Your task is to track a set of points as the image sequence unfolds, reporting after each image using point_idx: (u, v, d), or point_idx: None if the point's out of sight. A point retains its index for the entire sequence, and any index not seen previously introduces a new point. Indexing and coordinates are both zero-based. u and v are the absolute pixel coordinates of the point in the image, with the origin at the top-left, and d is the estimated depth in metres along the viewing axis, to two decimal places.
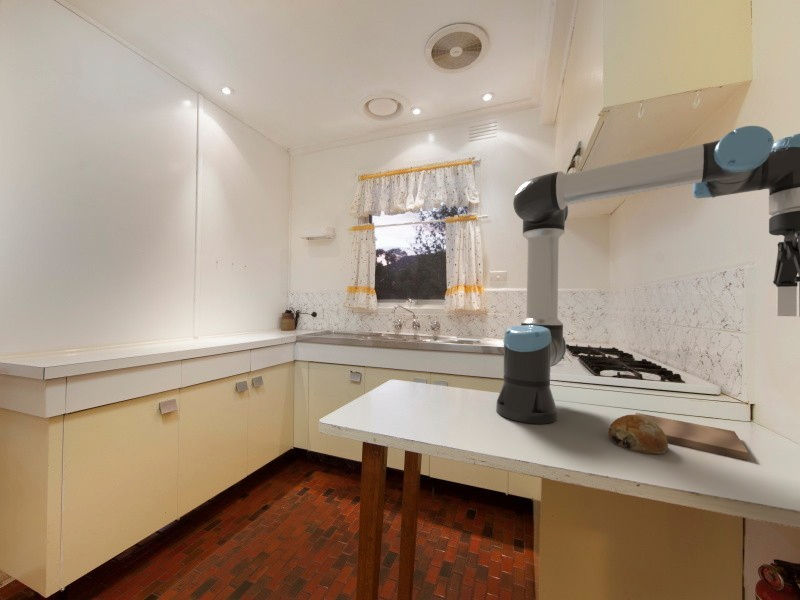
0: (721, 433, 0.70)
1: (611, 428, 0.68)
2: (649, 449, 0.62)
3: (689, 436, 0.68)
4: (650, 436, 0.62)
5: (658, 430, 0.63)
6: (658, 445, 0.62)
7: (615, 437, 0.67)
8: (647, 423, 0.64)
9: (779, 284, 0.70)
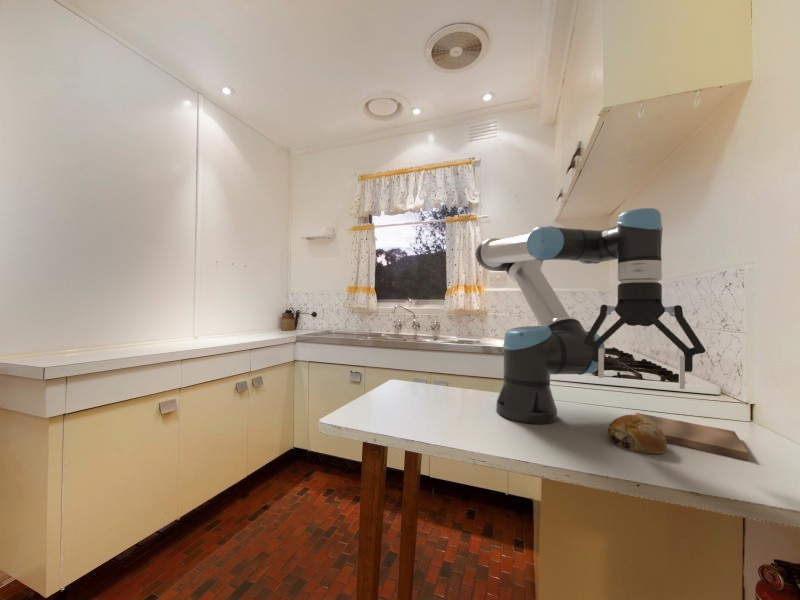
0: (721, 433, 0.70)
1: (610, 428, 0.68)
2: (648, 449, 0.62)
3: (689, 436, 0.68)
4: (649, 436, 0.62)
5: (657, 430, 0.63)
6: (657, 445, 0.62)
7: (614, 437, 0.67)
8: (646, 423, 0.64)
9: None
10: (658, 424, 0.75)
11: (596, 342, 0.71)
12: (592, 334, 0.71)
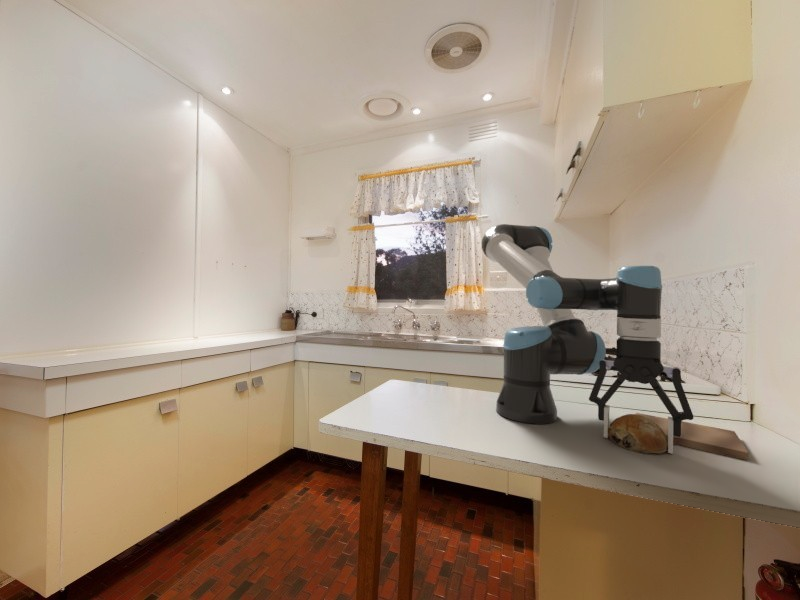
0: (721, 433, 0.70)
1: (611, 428, 0.68)
2: (649, 449, 0.62)
3: (689, 436, 0.68)
4: (650, 435, 0.62)
5: (658, 429, 0.63)
6: (658, 445, 0.62)
7: (615, 437, 0.66)
8: (646, 422, 0.64)
9: None
10: (658, 424, 0.75)
11: (601, 400, 0.70)
12: (596, 391, 0.71)
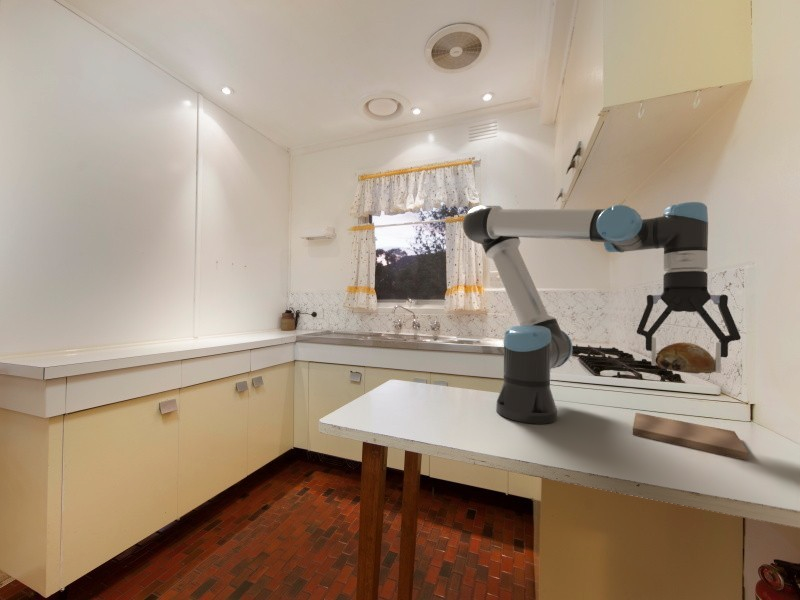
0: (721, 433, 0.70)
1: (659, 355, 0.73)
2: (698, 368, 0.67)
3: (689, 436, 0.68)
4: (699, 356, 0.67)
5: (706, 352, 0.68)
6: (707, 364, 0.67)
7: (664, 362, 0.72)
8: (694, 346, 0.69)
9: None
10: (658, 424, 0.75)
11: (649, 332, 0.75)
12: (644, 324, 0.76)
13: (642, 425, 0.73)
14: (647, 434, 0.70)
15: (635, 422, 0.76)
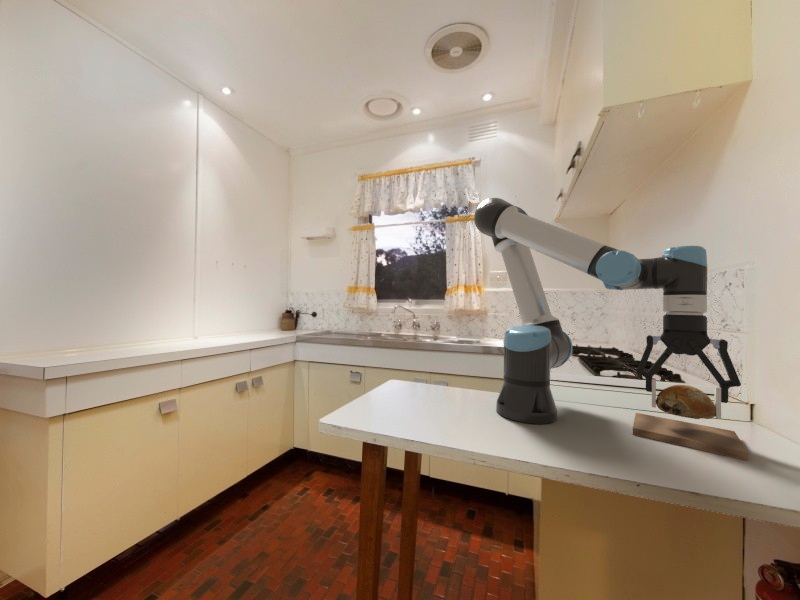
0: (721, 433, 0.70)
1: (659, 397, 0.73)
2: (699, 414, 0.67)
3: (689, 436, 0.68)
4: (699, 402, 0.67)
5: (706, 396, 0.68)
6: (707, 410, 0.67)
7: (664, 405, 0.71)
8: (695, 391, 0.69)
9: None
10: (658, 424, 0.75)
11: (649, 373, 0.75)
12: (643, 364, 0.76)
13: (642, 425, 0.73)
14: (647, 434, 0.70)
15: (635, 422, 0.76)
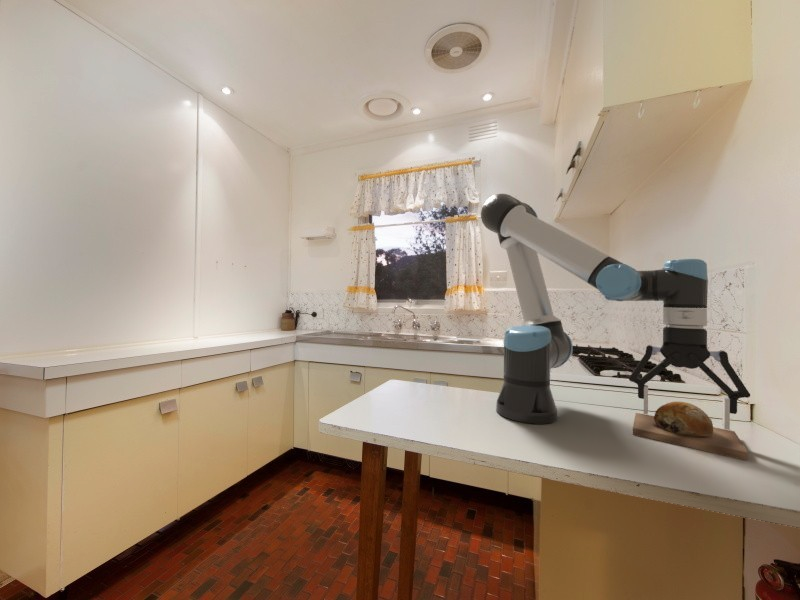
0: (721, 433, 0.70)
1: (658, 414, 0.73)
2: (697, 432, 0.67)
3: (689, 436, 0.68)
4: (697, 420, 0.67)
5: (704, 415, 0.68)
6: (705, 428, 0.67)
7: (662, 422, 0.71)
8: (693, 408, 0.69)
9: None
10: None
11: (641, 380, 0.76)
12: (637, 372, 0.76)
13: (642, 425, 0.73)
14: (647, 434, 0.70)
15: (635, 422, 0.76)
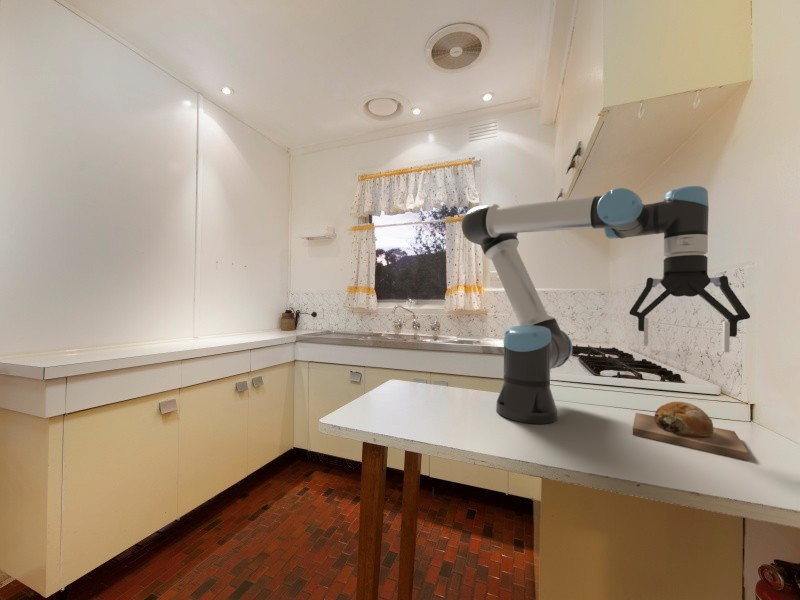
0: (721, 433, 0.70)
1: (658, 414, 0.73)
2: (697, 432, 0.67)
3: (689, 436, 0.68)
4: (697, 420, 0.67)
5: (705, 414, 0.68)
6: (705, 428, 0.67)
7: (662, 422, 0.71)
8: (693, 408, 0.69)
9: None
10: None
11: (642, 312, 0.76)
12: (638, 305, 0.77)
13: (642, 425, 0.73)
14: (647, 434, 0.70)
15: (635, 422, 0.76)
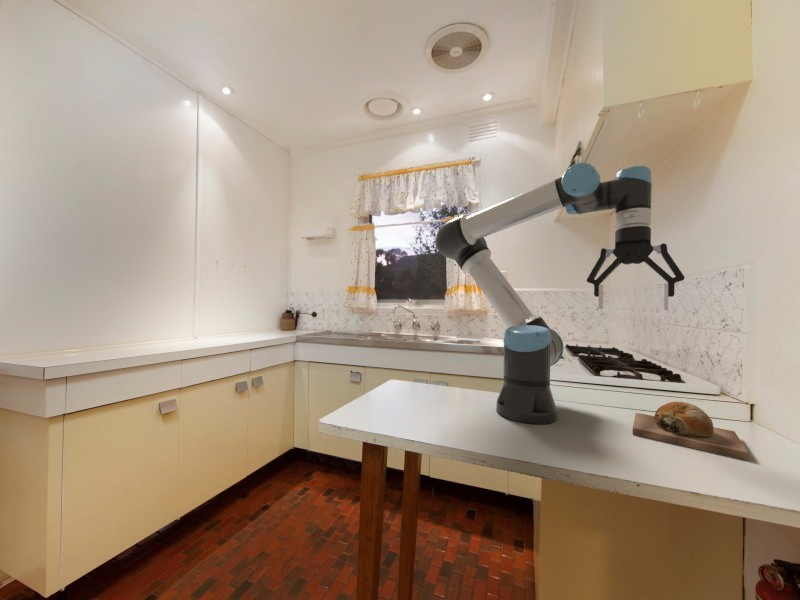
0: (721, 433, 0.70)
1: (658, 414, 0.73)
2: (697, 432, 0.67)
3: (689, 436, 0.68)
4: (698, 420, 0.67)
5: (705, 415, 0.68)
6: (706, 428, 0.67)
7: (662, 422, 0.71)
8: (693, 408, 0.69)
9: (667, 281, 0.78)
10: None
11: (597, 280, 0.86)
12: (594, 273, 0.86)
13: (642, 425, 0.73)
14: (647, 434, 0.70)
15: (635, 422, 0.76)
